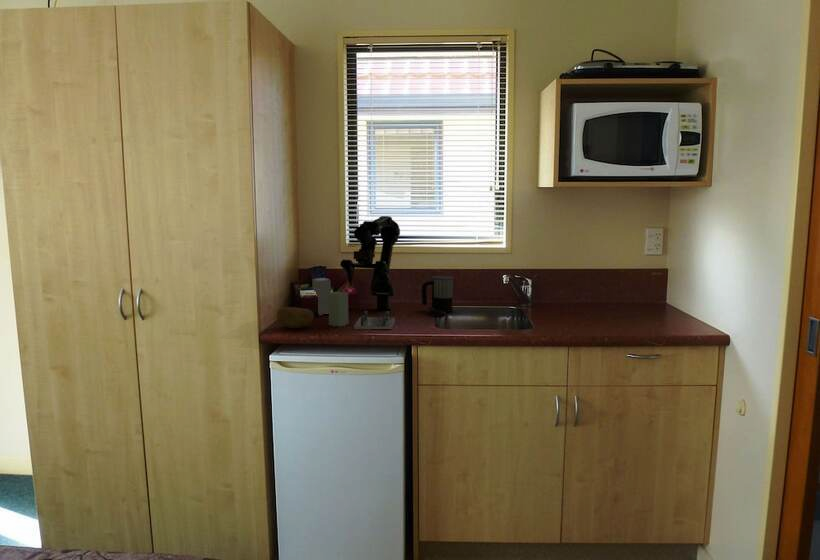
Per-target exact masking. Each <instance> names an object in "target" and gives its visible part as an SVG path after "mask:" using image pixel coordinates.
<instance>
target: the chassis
mask: <svg viewBox="0 0 820 560" xmlns="http://www.w3.org/2000/svg"><path fill="white" fill-rule="evenodd" d="M368 314H369V311H368V310H364V311H363V316H362V315H361V316H360V317H359V318H358V320H357V321H356V322H355V324H354V325H353V330H372V329H391V330H392V329H393V327H394V324H395V321H396V318H395V317H393V316H392V317H390V311H389V310H385V313H384V315H385V316H384V315H383V316H379V317H378V316H376V317H375V316H374V317H373V316H369V315H368ZM368 316H369V317H368ZM392 326H393V327H392Z"/></svg>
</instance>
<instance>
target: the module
mask: <svg viewBox="0 0 820 560" xmlns="http://www.w3.org/2000/svg"><path fill="white" fill-rule="evenodd" d="M328 305H329V315H328V326H329V325H333V326H332V327H335V326H339V327H338V328H341V327H340V326H342V327H344V326H346V324H347V325H349V292H346V291H334V292H331V293H329V294H328ZM343 325H344V326H343Z"/></svg>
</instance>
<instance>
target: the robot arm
mask: <svg viewBox="0 0 820 560" xmlns="http://www.w3.org/2000/svg"><path fill="white" fill-rule="evenodd" d="M353 231H354V232H353V236H354V237H355V239H356V240H357V241H358V243H359V244H360V249H358V250H354V251H353V260H355V262H354V261H352V259H342V260H341V261H340V265H339V266H340V268H342V269H343V270H344V271H345V272H346V275H347V280H348V285H349V286H350V287H351V286H352V285H353V284H352V283H353V280H354V274H355V271H354V270H355V268H356V269H373V276H372V278H371V279H372V280H371V283H370V290H371V296H373V297H374V296H375V302H376V303H375V305H376V306H374V309H375V311H391V306H390V297H393V296H394V293H395V292H394V288H393V285H392V280H391V278H390V274H389V273H390V267H391V261H392V255H393V248H394V245H396V243H397V242H398V240H399V236H400V234H401V229H400V226H399V224H398V223H397V222H396V221H395V220H394V219H393V218H392V216H389V215H381V216H379V217H378V218H376V219H373V220H364V221H363V223H360V224H359V226H358V227H356V228H355V229H354V230H353ZM379 235H380V238H381V240H382V248H381V251H380V252H381V253H380V259H379V260H376V261H375V263H373V261H374V258H375V257H376V255H375V251H376V245H377V244H378V241H377V238H375V236H379Z"/></svg>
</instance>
